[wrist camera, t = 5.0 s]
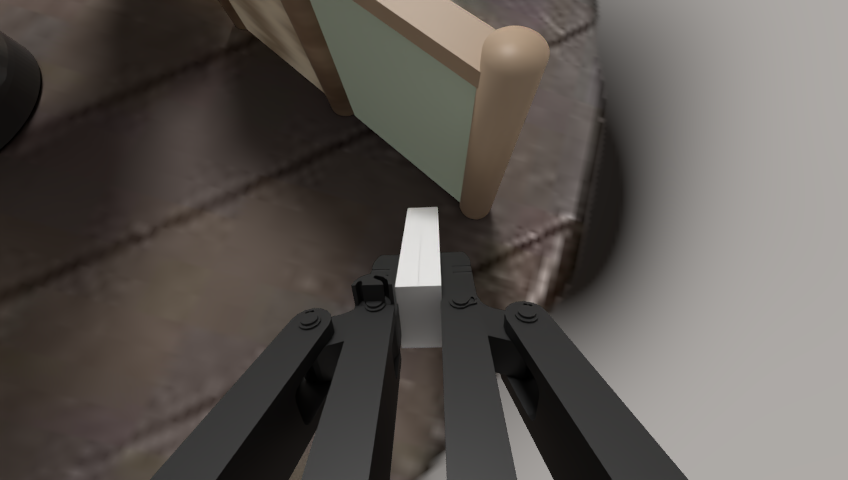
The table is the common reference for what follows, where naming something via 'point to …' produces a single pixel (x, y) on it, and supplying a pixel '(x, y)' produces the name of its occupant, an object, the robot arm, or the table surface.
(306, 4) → the fence fixed
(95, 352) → the table surface
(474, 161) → the fence gate
